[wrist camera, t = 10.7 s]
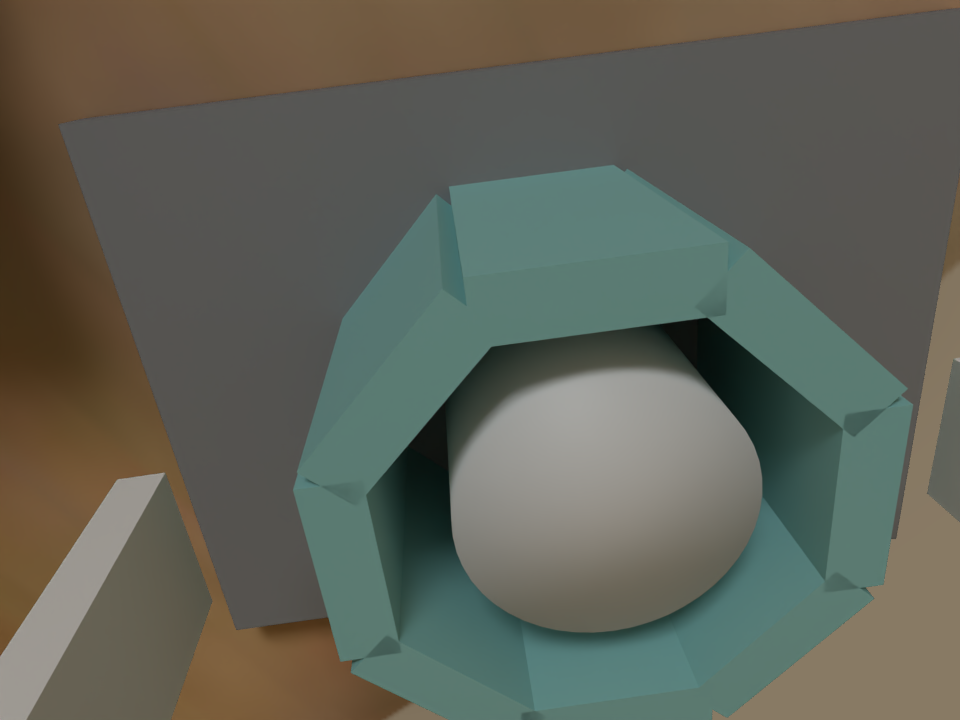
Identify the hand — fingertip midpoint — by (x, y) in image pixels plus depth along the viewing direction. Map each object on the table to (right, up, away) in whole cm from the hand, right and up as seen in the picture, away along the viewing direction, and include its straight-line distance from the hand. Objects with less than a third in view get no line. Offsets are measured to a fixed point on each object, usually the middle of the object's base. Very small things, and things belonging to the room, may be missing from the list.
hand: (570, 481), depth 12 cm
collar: (0, +2, +4) cm, 5 cm away
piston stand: (0, +2, +5) cm, 6 cm away
